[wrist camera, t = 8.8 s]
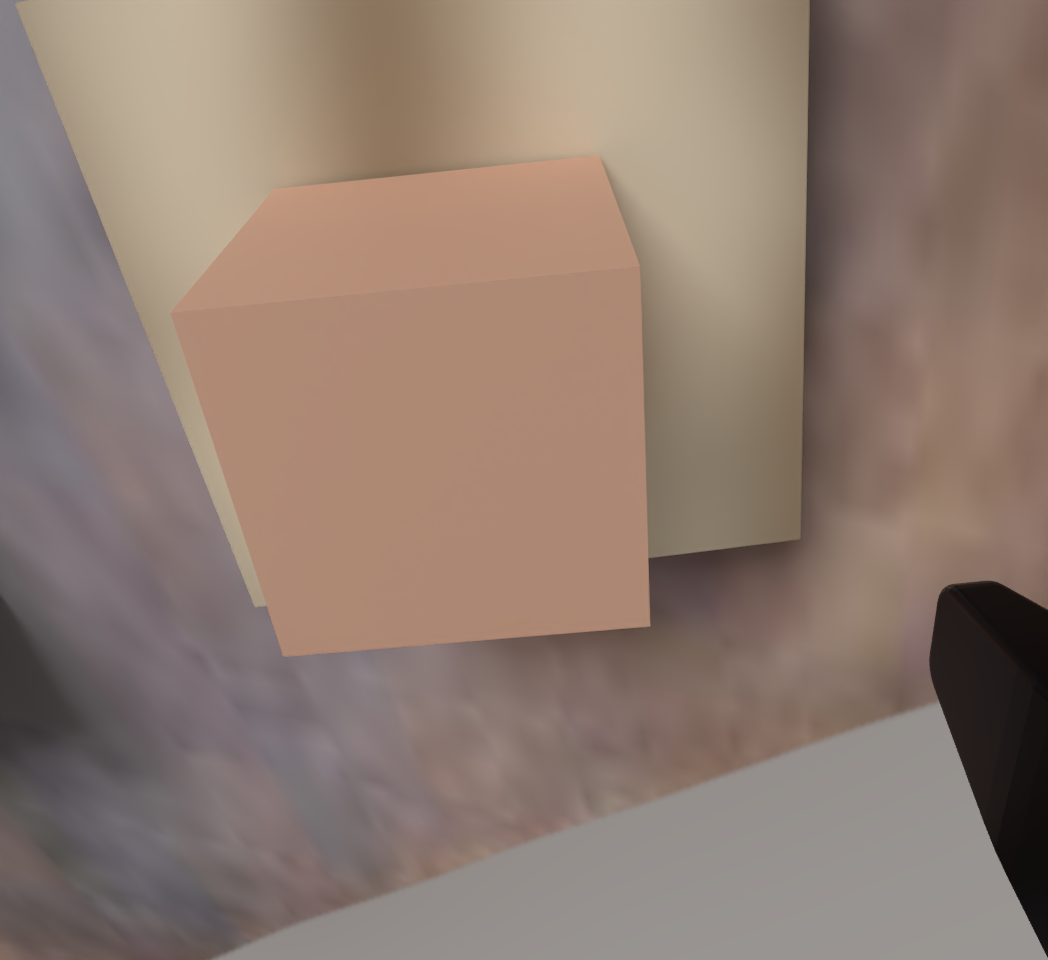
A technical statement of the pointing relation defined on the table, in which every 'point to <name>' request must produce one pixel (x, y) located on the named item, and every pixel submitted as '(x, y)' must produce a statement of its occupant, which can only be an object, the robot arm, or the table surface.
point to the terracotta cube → (431, 406)
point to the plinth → (473, 142)
